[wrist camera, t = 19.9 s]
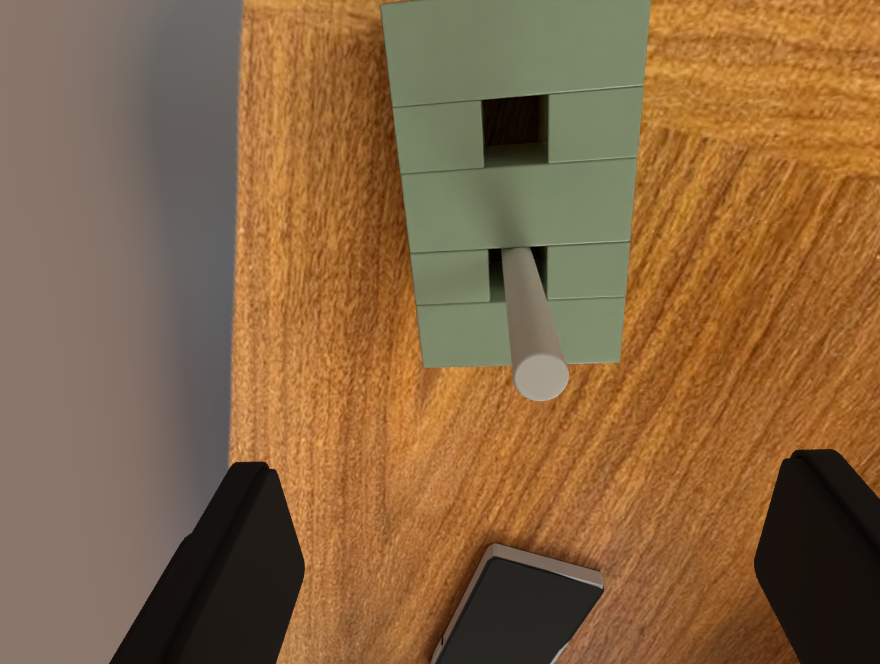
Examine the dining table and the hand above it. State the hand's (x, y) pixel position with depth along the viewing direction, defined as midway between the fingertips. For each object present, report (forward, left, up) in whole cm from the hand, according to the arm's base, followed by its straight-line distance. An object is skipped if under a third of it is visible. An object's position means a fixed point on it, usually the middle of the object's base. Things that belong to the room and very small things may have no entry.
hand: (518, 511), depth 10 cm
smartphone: (-1, -28, -17) cm, 33 cm away
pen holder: (0, +3, -16) cm, 17 cm away
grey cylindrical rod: (0, 0, -16) cm, 16 cm away
